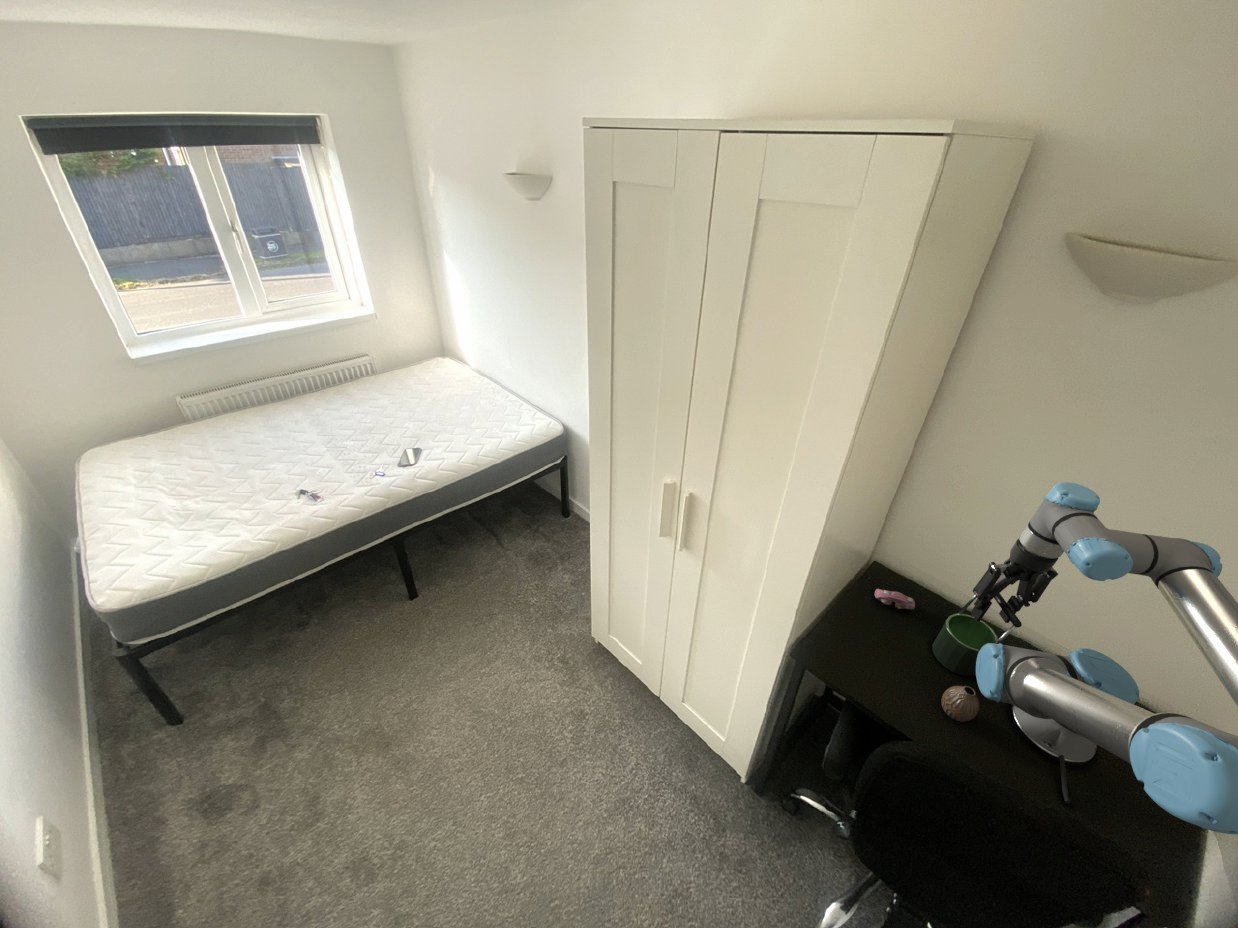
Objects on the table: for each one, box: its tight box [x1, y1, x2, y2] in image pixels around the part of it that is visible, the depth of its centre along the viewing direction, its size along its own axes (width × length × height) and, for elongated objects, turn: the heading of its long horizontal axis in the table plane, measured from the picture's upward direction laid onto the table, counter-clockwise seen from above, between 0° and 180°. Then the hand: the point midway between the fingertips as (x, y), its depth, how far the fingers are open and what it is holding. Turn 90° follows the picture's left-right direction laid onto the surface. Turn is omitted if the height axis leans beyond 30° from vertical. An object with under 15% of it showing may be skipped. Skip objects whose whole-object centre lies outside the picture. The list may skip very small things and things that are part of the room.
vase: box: [940, 685, 980, 723], centre depth 115 cm, size 7×7×9 cm
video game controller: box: [874, 588, 916, 610], centre depth 141 cm, size 10×5×7 cm, turn 67°
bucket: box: [931, 592, 1023, 677], centre depth 123 cm, size 11×13×22 cm
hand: (989, 617), depth 120 cm, fingers open, 6 cm apart
